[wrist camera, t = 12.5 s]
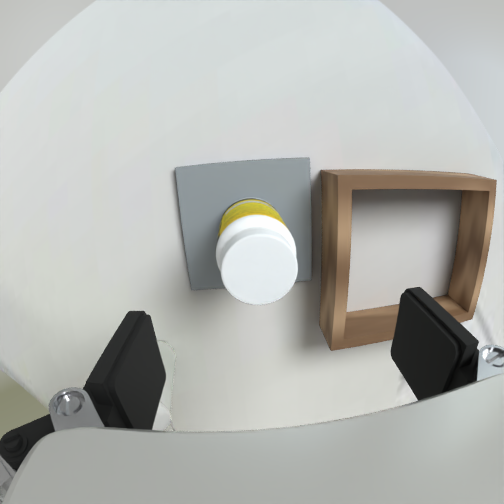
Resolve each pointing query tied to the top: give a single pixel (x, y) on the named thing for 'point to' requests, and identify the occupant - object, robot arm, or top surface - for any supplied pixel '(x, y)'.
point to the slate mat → (231, 190)
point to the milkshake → (166, 388)
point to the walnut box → (339, 246)
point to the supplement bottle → (255, 252)
